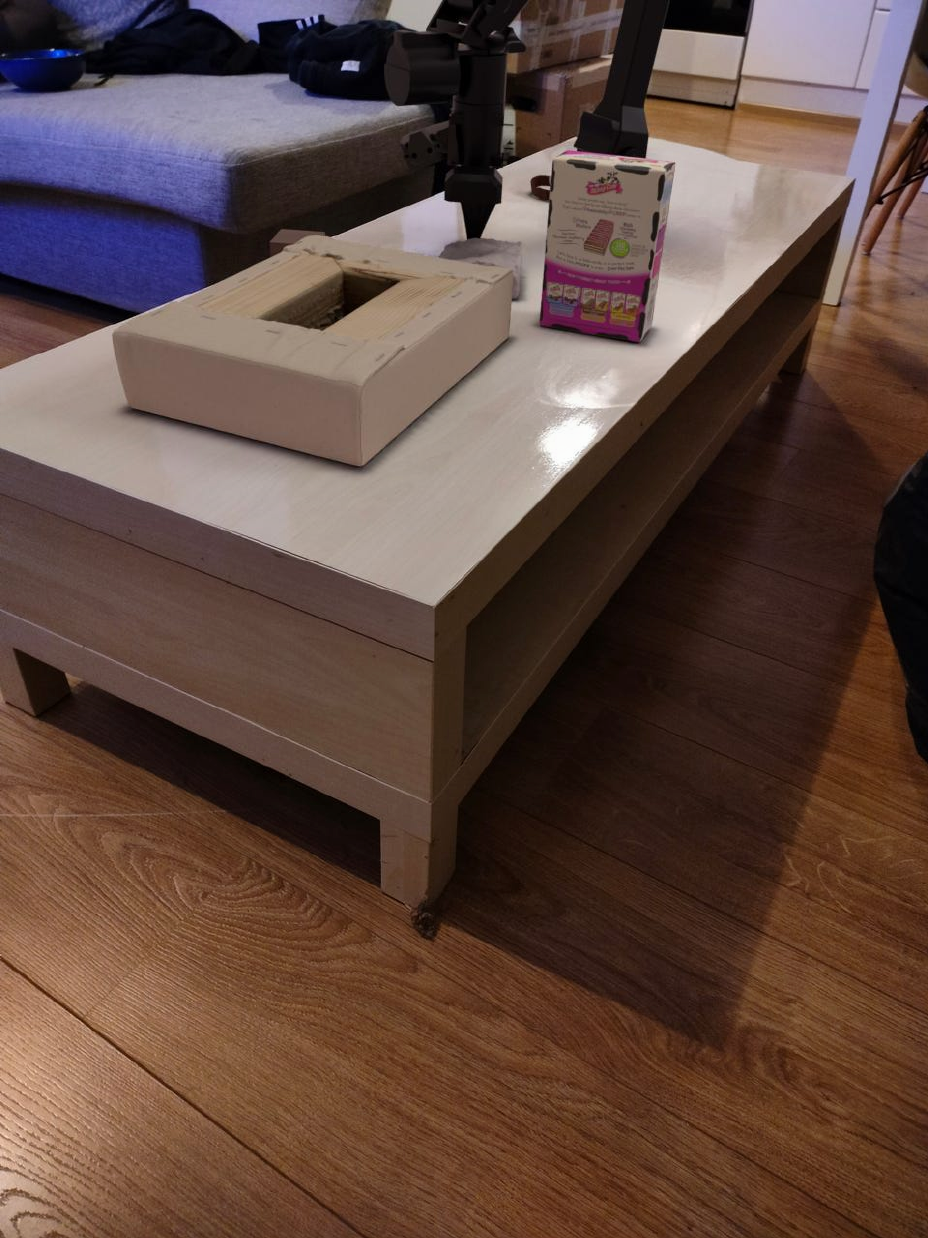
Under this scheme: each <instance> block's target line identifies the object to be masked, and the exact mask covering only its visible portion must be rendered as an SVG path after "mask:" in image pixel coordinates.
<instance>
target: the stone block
mask: <svg viewBox="0 0 928 1238" xmlns="http://www.w3.org/2000/svg"><path fill="white" fill-rule="evenodd" d="M522 249H523V241H517V242H514V241H507V240H502V239H495V238H487V237H481V238H472V239H468V240H467V239H466V240H457V241H455V242H451V243H448V244H446V245H444V246H443V250H441V252H440V253H439V256H438V257H437V258H443V259H448V260H454V261H460V262H465V263H471V264H477V265H482V266H498V267H504V268H510V269H512V270H513V290H512V300H516V299H517V298H518V296H519V295H520V288H521V275H522V261H523V260H522V259H523V257H522V256H523V255H522Z"/></svg>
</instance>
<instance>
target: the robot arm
mask: <svg viewBox="0 0 928 1238" xmlns="http://www.w3.org/2000/svg"><path fill="white" fill-rule="evenodd" d="M529 2H530V0H441V1H440V3H439V6H438V7H437V8H436V10H435V13H434V14H433V16H432V18H431V19H430V21H429V23H428V25H427V27H426V28H425V30H424V31H411V30H407V29H396V30H394V32H393V44H392V45H391V46H390V48H389V50H388V52H387V56H386V60H385V61H386V62H385V63H384V65H383V74H384V83H385V88H386V92H387V95H388V96H389V99H390V100H391V102H392V104H393V105H395V106H396V107H407V106H408V107H409V106H422V105H435V104H446V103H448V102H450V101H451V99H452V107H451V108H450V113H449V114H448V120H446V121H441V122H439V123H435V124H432V125H429V126H426V127H420V129H418V130H414V131H413V130H411V131H410V132H409V133H407V134H405V135H404V136H402V138H401V140H400V143H399V144H400V147H401V150H402V153H403V154H402V158H403V160H404V161H405V162H406V166H407V168H408V171H409V172H410V173H414V172H418V171H421V170H422V168H424V167H427V166H430V165H433V164H435V163H439V162H442V161H443V160H446V159H447V162H446V165H447V166H453V167H452V168H451V169H450V170H449V171H448V172H447V173H446V174H445V178H444V189H443V190H444V193H443V200H444V201H445V202H448V203H460V206H461V212H462V217H463V224H464V225H463V226H464V230H465V236H466V240H468V239H472V238H482V236H483V233H484V232H485V229H486V227H487V224H488V223H489V221H490V218H491V216H492V213H493V211H494V209H495V207H496V205H501V204H502V199H503V179H504V177H503V175H501V173H500V172H499V170H497V168H498V169H503V168H504V157H505V156H504V155H505V154H504V153H505V146H504V145H503V143H504V142H503V141H504V127H505V109H506V93H507V92H506V91H507V75H508V59H509V55H510V54H524V53H525V52H526V51H527V45H526V44H525V43H524V42H523V41H522V40H521V38H519V37H518V35H517V33H516V32H515V29H514V28H513V27H512V26H511V25H512V23H514V21H515V20H516V19H517V17H518V16H519V15H520V13H521V12H522V11H523V9H524V8H525V7H526V5H527V4H528V3H529ZM669 4H670V0H624V3H623V8H622V12H621V17H620V21H619V26H618V31H617V35H616V39H615V43H614V49H613V53H612V57H611V62H610V67H609V71H608V75H607V78H606V79H607V80H606V83H605V89H604V93H603V97H602V99H601V100H600V102H599V103H598V105H597V106H596V108H595V109H594V110H593V111H592V112H590V111H586V110H584V111H582V113H581V116H580V118H579V127H578V128H579V129H578V133H577V137H576V140H575V141H574V144H573V148H575V149H576V151H580V152H589V153H598V154H607V155H616V156H626V157H636V158H645V159H647V154H648V153H647V152H648V145H649V137H650V135H649V129H648V123H647V117H646V113H645V104H646V103H645V102H646V99H647V95H648V91H649V86H650V83H651V78H652V74H653V70H654V66H655V62H656V57H657V53H658V49H659V45H660V41H661V37H662V33H663V29H664V25H665V21H666V17H667V13H668V9H669ZM496 167H497V168H496Z"/></svg>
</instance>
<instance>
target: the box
mask: <svg viewBox="0 0 928 1238" xmlns="http://www.w3.org/2000/svg"><path fill="white" fill-rule="evenodd" d="M512 290H513V270H512V269H510V268H504V267H498V266H482V265H477V264H471V263H465V262H460V261H454V260H448V259H443V258H438V257H437V256H431V255H425V254H421V253H414V252H409V251H402V250H398V249H392V248H388V247H381V246H376V245H371V244H370V245H369V244H363V243H358V242H351V241H347V240H342V239H341V240H340V239H336V238H333V237H331V236H328V235H325V236H321V235H311V236H307V237H304V238H302V239H301V240H299V241H298V242H296V243H295V244H293V245H289V246H286V247H284V249H283V251H282V252H281V253H279V254H277V255H275V256H273V257H269V258H266V259H265V260H262V261H260V262H258V263H255V264H254V265H252V266H250V267H248V268H246V269H244V270H242V271H239V272H237V273H235V274H233V275H230V276H229V277H227V278H225V279H223V280H221V281H219V282H217V283H214V284H212V285H211V286H208V287H207V288H204V289H203V290H201V291H199V292H196V293H194V294H192V295H190V296H188V297H186V298H184V299H181V300H179V301H177V300H175V301H171V302H169V303H167V304H165V305H164V306H161V307H160V308H158V309H155V310H152V311H149V312H147V313H144V314H140V315H138V316H136V317H134V318H132V319H129V320H127V321H126V322H124V323H122V324H121V325H120V326H118V327H117V328H115V329H114V330H113V332H112V334H111V337H112V344H113V352H114V357H115V363H116V366H117V371H118V375H119V378H120V382H121V386H122V389H123V392H124V396H125V399H126V401H127V404H128V405H129V406H130V408H132V409H136V410H139V411H142V412H147V413H151V414H155V415H159V416H162V417H166V418H167V417H168V418H171V419H174V420H179V421H182V422H186V423H189V424H194V425H198V426H201V427H202V426H203V427H206V428H209V429H213V430H218V431H221V432H224V433H229V434H233V435H236V436H241V437H243V438H247V439H252V440H256V441H259V442H264V443H268V444H271V445H275V446H278V447H283V448H286V449H290V450H293V451H298V452H301V453H305V454H310V455H313V456H316V457H319V458H324V459H328V460H331V461H336V462H340V463H344V464H348V465H352V466H355V467H356V466H357V467H363V466H365V464H367V463H368V462H369V461H370V460H372V458H374V457H375V456H376V455H377V454H378V453H380V452H381V450H383V449H384V448H385V447H386V446H387V445H389V443H390V442H392V441H393V440H394V439H395V438H396V437H397V436H398V435H399V434H401V433H402V432H404V430H405V429H406V428H408V426H409V425H411V424H412V423H413V422H414V421H415V420H416V419H418V417H420V416H422V414H423V413H424V412H425V411H427V410H428V409H429V408H430V407H431V406H433V405H434V404H435V403H436V402H437V401H439V399H440V398H442V396H443V395H444V394H445V393H447V392H448V391H449V390H450V389H451V388H453V387H454V386H455V385H456V384H457V383H459V382H460V381H461V380H462V378H464V377H465V376H466V375H468V374H469V373H470V372H471V371H472V370H473V369H474V368H476V367H477V366H478V365H479V364H480V363H481V362H482V361H483V360H484V359H485V358H486V357H488V356H489V355H490V354H491V353H492V352H494V350H496V349H497V348H498V347H499V346H500V345H502V344H503V342H505V341H506V340H507V339H508V338H509V336H510V328H511V316H512V315H511V314H512V305H513V304H512V303H513V299H512Z"/></svg>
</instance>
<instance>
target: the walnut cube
mask: <svg viewBox="0 0 928 1238" xmlns="http://www.w3.org/2000/svg"><path fill="white" fill-rule="evenodd" d="M311 235H321V236H326V233H325V231H313V230H312V231H311V230H300V229H299V230H298V229H297V230H296V229H285V228H284V229H283V228H281V229H280V230H279V231H278V232H277V233H276V235H274V237H273V238H271V240H270V241H269V242H268V245H269V256H270V257H269V258H271V257H273V256H275V255H277V254H279V253H281V252H282V251H283V249H284V247H286V246H289V245H293V244H295V243H296V242H298V241H299V240H301V239H302V238H304V237H307V236H311Z"/></svg>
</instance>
